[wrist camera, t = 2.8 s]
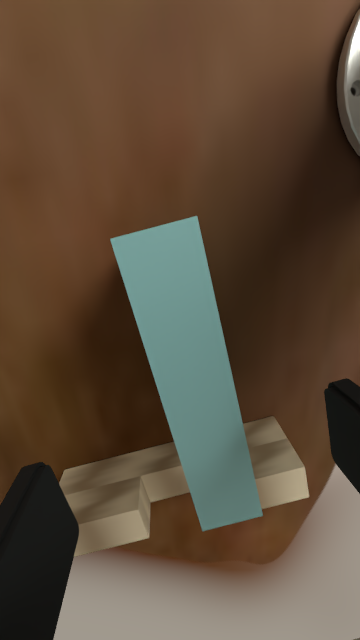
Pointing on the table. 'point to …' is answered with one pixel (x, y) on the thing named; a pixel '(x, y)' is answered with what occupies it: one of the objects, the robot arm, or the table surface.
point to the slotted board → (168, 485)
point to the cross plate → (190, 366)
